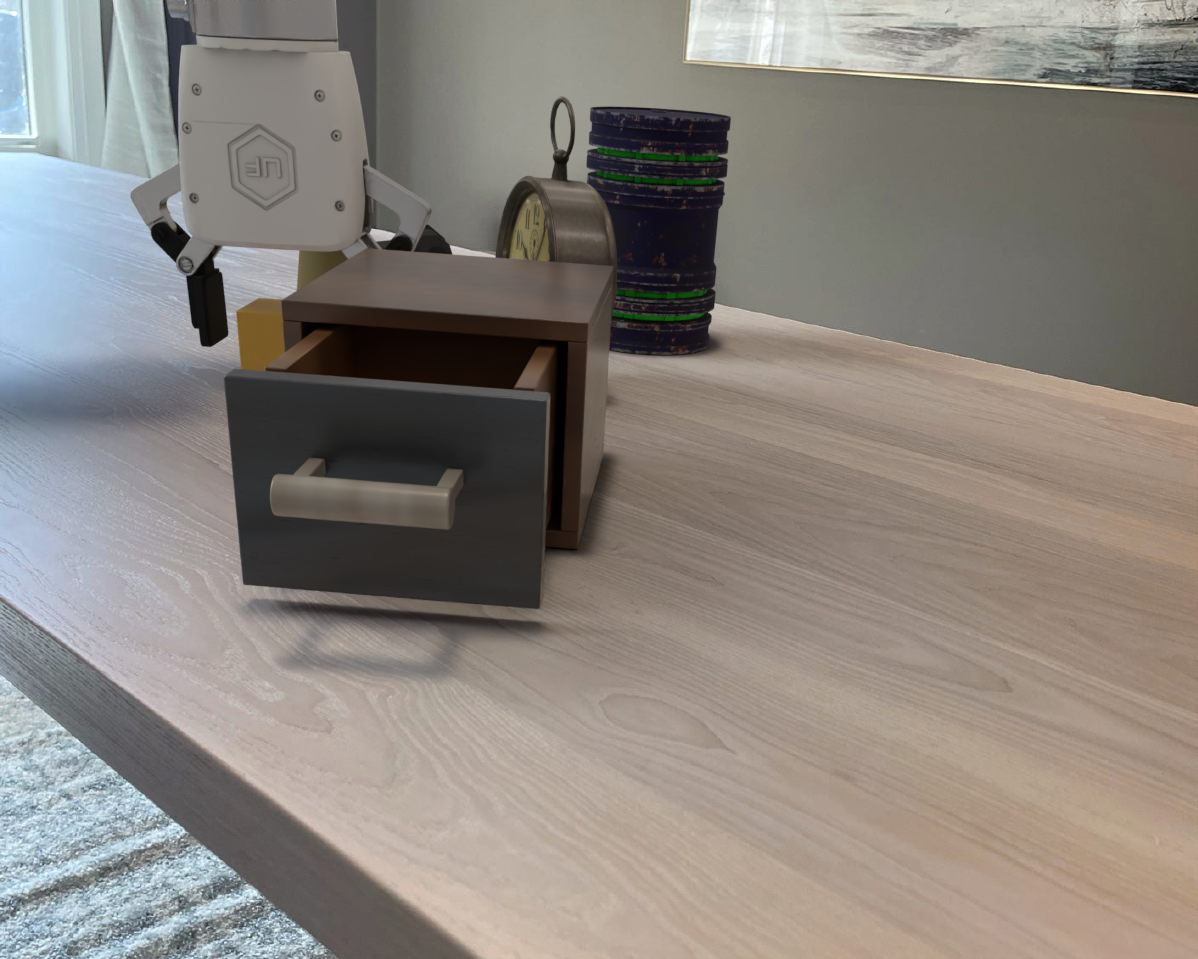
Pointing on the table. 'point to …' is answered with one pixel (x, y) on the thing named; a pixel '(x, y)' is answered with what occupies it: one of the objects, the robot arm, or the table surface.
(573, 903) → the table surface
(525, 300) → the cabinet
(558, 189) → the alarm clock
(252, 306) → the block
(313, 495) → the drawer
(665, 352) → the storage jar
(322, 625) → the table surface
